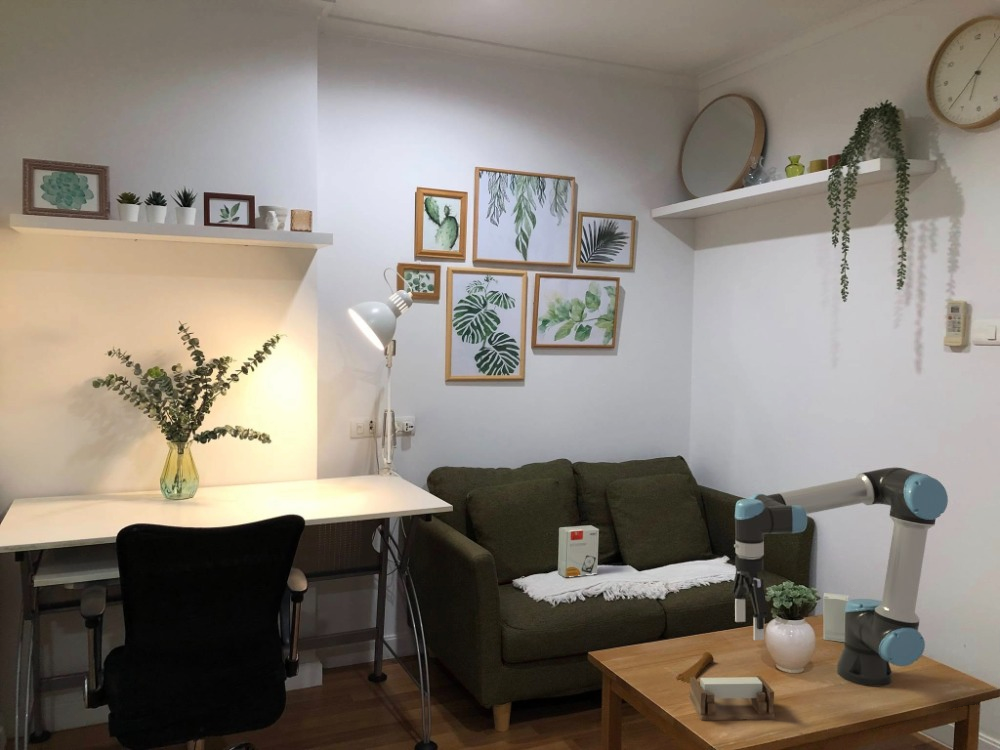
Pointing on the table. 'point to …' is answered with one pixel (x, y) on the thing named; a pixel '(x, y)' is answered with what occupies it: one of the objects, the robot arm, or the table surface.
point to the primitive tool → (696, 668)
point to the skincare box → (834, 616)
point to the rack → (732, 704)
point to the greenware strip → (732, 687)
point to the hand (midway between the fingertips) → (749, 630)
